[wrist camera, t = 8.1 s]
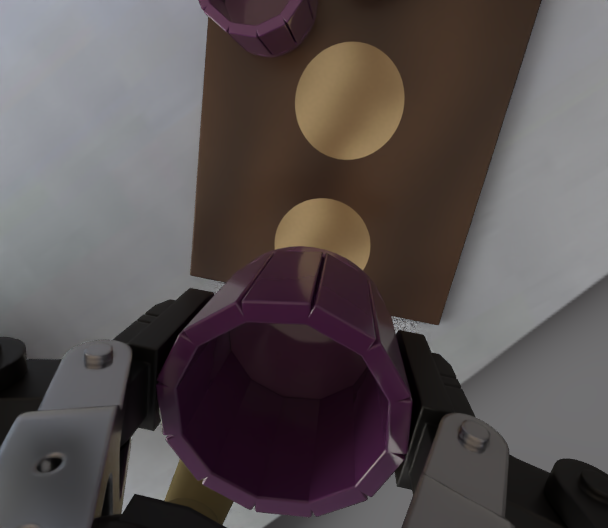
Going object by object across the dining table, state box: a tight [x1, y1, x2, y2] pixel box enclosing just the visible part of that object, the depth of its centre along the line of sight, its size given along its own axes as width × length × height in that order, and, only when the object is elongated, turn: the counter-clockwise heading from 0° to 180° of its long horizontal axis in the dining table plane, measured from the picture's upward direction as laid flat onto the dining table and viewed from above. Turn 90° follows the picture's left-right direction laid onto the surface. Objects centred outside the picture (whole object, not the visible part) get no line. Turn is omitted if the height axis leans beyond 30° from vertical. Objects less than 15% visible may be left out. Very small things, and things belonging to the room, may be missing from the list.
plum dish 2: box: [156, 246, 413, 517], centre depth 10 cm, size 6×6×4 cm
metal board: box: [190, 0, 542, 325], centre depth 22 cm, size 18×26×1 cm
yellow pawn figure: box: [164, 459, 234, 525], centre depth 26 cm, size 6×6×11 cm
